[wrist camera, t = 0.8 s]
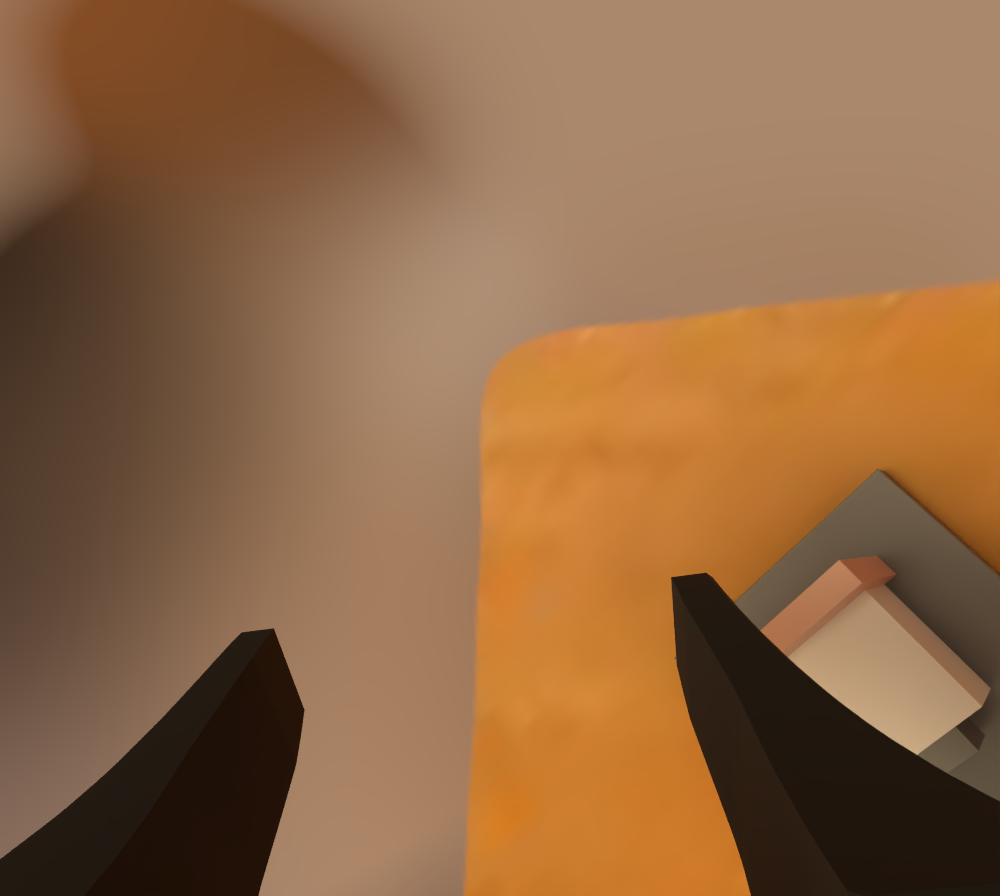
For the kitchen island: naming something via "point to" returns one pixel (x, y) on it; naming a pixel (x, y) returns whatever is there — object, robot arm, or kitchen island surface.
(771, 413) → the kitchen island surface
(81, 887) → the robot arm
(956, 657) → the cream and red block
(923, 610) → the board
